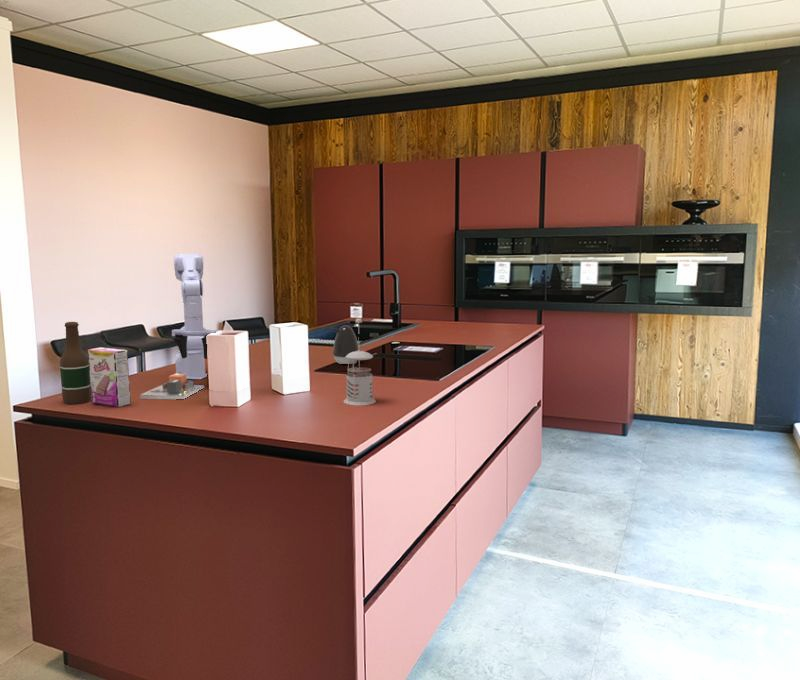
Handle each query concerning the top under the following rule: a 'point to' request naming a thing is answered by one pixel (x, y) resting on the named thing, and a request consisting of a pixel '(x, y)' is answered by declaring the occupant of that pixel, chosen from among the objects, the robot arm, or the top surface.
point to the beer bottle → (74, 369)
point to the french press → (359, 379)
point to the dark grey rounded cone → (344, 344)
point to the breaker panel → (162, 393)
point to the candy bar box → (109, 376)
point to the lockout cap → (179, 378)
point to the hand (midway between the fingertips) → (195, 358)
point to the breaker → (173, 386)
